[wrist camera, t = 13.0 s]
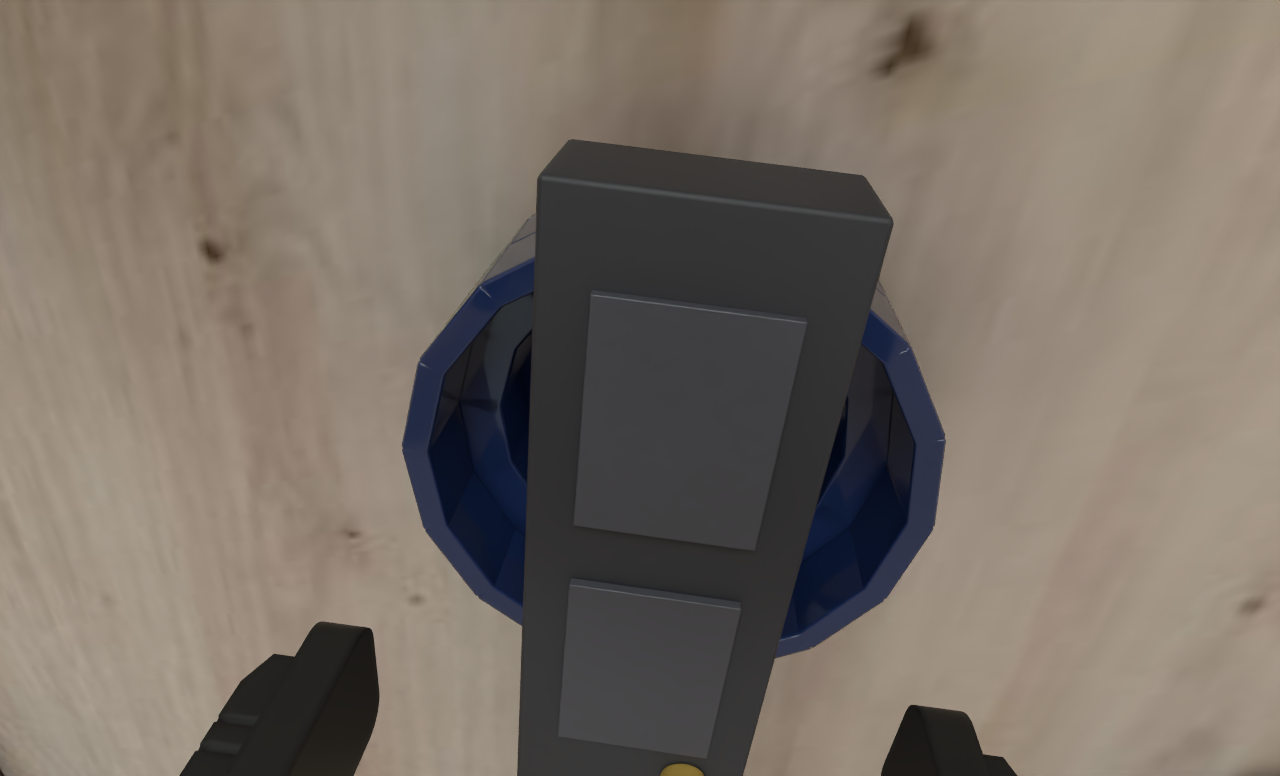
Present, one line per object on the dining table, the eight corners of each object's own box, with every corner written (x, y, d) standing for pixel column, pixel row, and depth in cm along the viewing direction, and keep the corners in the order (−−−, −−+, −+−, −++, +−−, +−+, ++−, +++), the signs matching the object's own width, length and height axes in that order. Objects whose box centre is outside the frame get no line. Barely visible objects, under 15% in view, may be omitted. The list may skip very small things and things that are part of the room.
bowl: (390, 281, 20) (298, 371, 16) (797, 76, 17) (823, 117, 12) (596, 580, 24) (568, 715, 20) (948, 465, 21) (1008, 596, 17)
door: (567, 136, 13) (528, 183, 10) (867, 174, 13) (904, 230, 10) (538, 693, 20) (510, 805, 17) (731, 721, 20) (732, 839, 17)
